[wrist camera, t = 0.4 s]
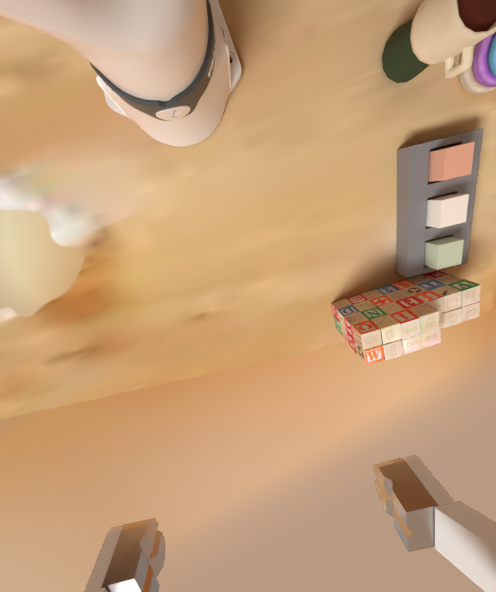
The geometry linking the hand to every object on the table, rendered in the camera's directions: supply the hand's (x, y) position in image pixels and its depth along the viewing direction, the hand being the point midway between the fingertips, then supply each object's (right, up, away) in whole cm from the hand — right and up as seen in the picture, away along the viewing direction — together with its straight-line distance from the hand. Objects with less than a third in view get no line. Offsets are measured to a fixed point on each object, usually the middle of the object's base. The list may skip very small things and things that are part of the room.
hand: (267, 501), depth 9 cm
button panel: (+31, +23, +35) cm, 52 cm away
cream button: (+31, +22, +32) cm, 50 cm away
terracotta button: (+29, +28, +30) cm, 50 cm away
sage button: (+32, +15, +35) cm, 50 cm away
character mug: (+21, +41, +27) cm, 53 cm away
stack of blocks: (+27, +7, +41) cm, 49 cm away
